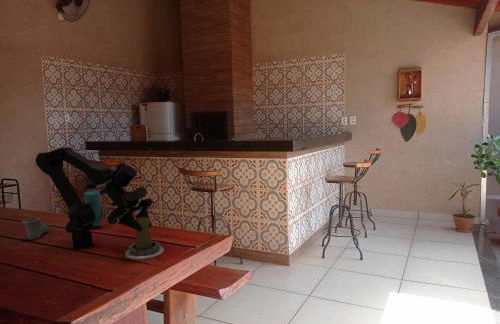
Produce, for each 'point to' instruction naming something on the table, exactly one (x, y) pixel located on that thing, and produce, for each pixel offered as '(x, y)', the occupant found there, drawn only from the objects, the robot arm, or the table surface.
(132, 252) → the iron collar
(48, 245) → the table surface
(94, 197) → the beverage bottle
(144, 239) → the cork
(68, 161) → the robot arm
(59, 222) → the table surface
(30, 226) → the pipe
